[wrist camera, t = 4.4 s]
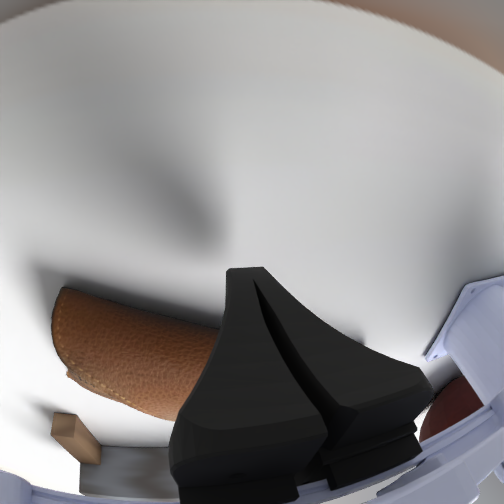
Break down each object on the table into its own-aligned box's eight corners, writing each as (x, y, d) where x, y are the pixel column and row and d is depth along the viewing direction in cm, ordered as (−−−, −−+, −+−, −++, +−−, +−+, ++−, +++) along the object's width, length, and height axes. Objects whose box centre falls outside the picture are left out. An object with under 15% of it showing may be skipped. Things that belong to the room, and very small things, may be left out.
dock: (390, 379, 22) (416, 425, 18) (357, 427, 27) (374, 465, 23) (54, 412, 17) (46, 469, 13) (92, 455, 21) (92, 499, 17)
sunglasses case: (60, 381, 15) (39, 442, 9) (76, 273, 15) (47, 291, 9) (304, 413, 22) (357, 454, 16) (331, 331, 22) (395, 356, 16)
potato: (387, 430, 31) (417, 494, 22) (442, 366, 24) (491, 444, 16) (443, 407, 34) (473, 459, 25) (494, 345, 27) (537, 403, 18)
